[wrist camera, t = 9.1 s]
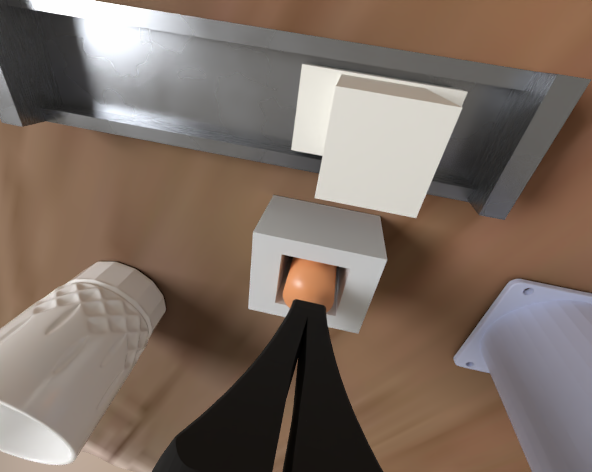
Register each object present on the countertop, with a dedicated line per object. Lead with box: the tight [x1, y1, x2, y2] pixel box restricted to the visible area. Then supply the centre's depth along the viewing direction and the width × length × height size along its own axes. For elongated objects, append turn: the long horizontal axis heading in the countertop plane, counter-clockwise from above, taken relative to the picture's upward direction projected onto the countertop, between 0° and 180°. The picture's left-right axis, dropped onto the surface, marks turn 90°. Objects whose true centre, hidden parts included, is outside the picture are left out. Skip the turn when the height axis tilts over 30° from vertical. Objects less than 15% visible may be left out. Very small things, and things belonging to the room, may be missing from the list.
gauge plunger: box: [283, 257, 337, 312], centre depth 15 cm, size 2×2×4 cm
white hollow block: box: [248, 195, 387, 333], centre depth 16 cm, size 6×5×4 cm
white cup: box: [0, 262, 166, 465], centre depth 19 cm, size 8×8×10 cm
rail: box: [0, 0, 591, 220], centre depth 12 cm, size 22×5×3 cm, turn 82°
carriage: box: [291, 63, 468, 218], centre depth 10 cm, size 6×3×6 cm, turn 82°
